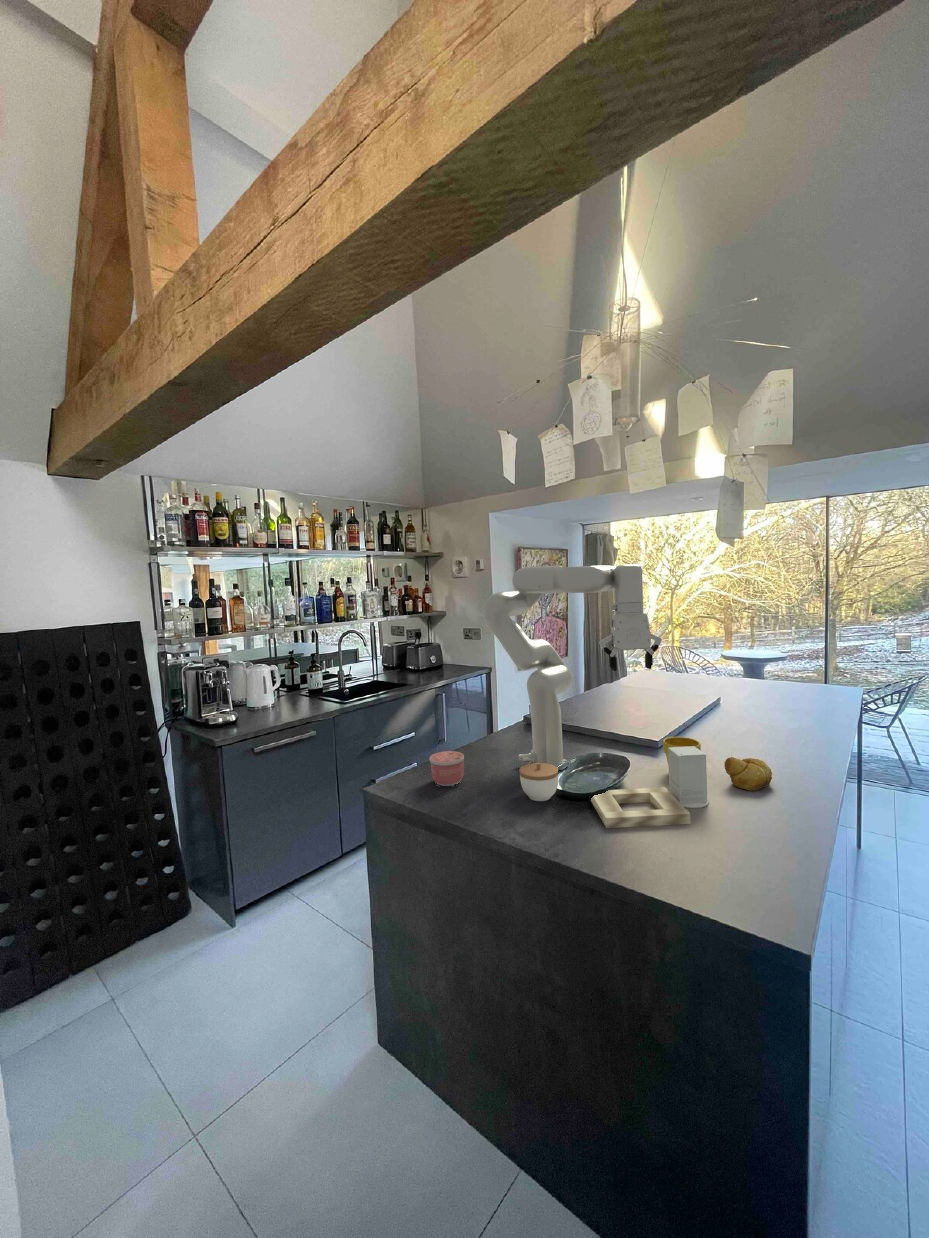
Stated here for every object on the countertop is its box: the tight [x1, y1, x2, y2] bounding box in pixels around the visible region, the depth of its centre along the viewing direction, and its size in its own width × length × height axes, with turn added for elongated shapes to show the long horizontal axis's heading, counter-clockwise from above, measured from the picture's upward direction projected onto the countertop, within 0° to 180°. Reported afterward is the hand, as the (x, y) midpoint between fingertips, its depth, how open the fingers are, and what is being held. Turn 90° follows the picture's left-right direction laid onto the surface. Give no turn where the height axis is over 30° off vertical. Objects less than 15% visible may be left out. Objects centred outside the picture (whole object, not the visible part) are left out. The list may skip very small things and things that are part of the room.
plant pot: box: [662, 736, 702, 767], centre depth 153 cm, size 10×10×10 cm
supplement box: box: [667, 746, 708, 803], centre depth 135 cm, size 7×7×13 cm
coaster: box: [680, 796, 710, 809], centre depth 136 cm, size 10×10×1 cm
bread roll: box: [723, 756, 773, 791], centre depth 143 cm, size 13×10×8 cm
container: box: [429, 750, 465, 785], centre depth 157 cm, size 10×10×8 cm
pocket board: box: [590, 786, 691, 829], centre depth 131 cm, size 20×16×2 cm
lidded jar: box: [518, 763, 559, 802], centre depth 143 cm, size 11×11×9 cm
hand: (631, 669), depth 145 cm, fingers open, 9 cm apart
